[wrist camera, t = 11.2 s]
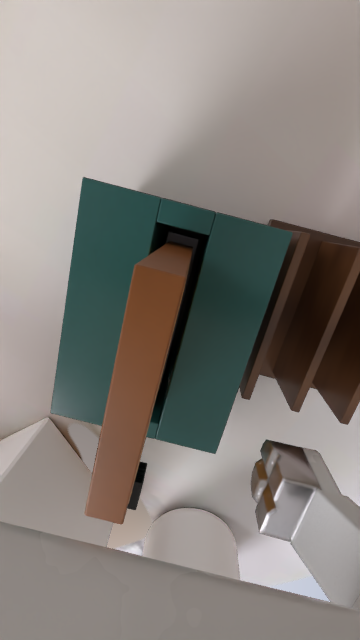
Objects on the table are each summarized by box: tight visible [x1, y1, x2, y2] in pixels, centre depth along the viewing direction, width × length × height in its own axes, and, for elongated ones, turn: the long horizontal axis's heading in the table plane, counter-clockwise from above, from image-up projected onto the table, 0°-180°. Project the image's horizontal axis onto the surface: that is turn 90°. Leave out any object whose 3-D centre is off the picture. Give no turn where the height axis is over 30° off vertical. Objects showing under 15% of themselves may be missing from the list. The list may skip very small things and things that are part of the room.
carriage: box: [127, 231, 199, 510], centre depth 21 cm, size 20×3×2 cm, turn 166°
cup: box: [142, 508, 240, 580], centre depth 30 cm, size 10×10×10 cm
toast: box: [84, 241, 193, 524], centre depth 14 cm, size 9×1×10 cm, turn 166°
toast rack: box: [239, 219, 360, 425], centre depth 23 cm, size 13×9×7 cm
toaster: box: [51, 177, 293, 454], centre depth 21 cm, size 13×11×11 cm
